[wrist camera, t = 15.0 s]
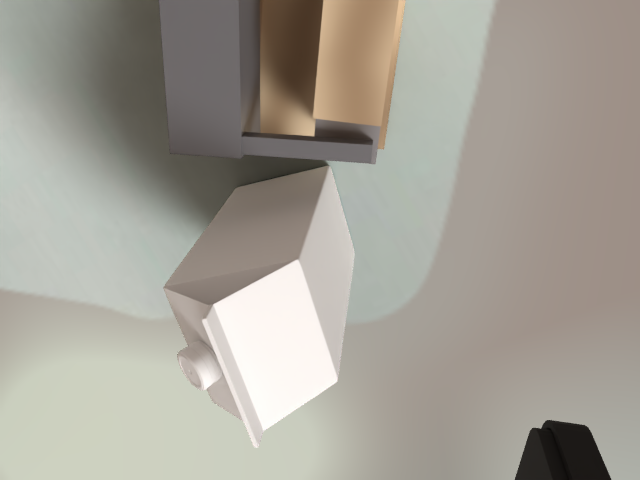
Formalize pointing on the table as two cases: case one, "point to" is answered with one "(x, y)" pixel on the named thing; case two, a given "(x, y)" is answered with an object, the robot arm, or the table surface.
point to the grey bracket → (227, 87)
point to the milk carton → (266, 298)
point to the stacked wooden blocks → (328, 67)
